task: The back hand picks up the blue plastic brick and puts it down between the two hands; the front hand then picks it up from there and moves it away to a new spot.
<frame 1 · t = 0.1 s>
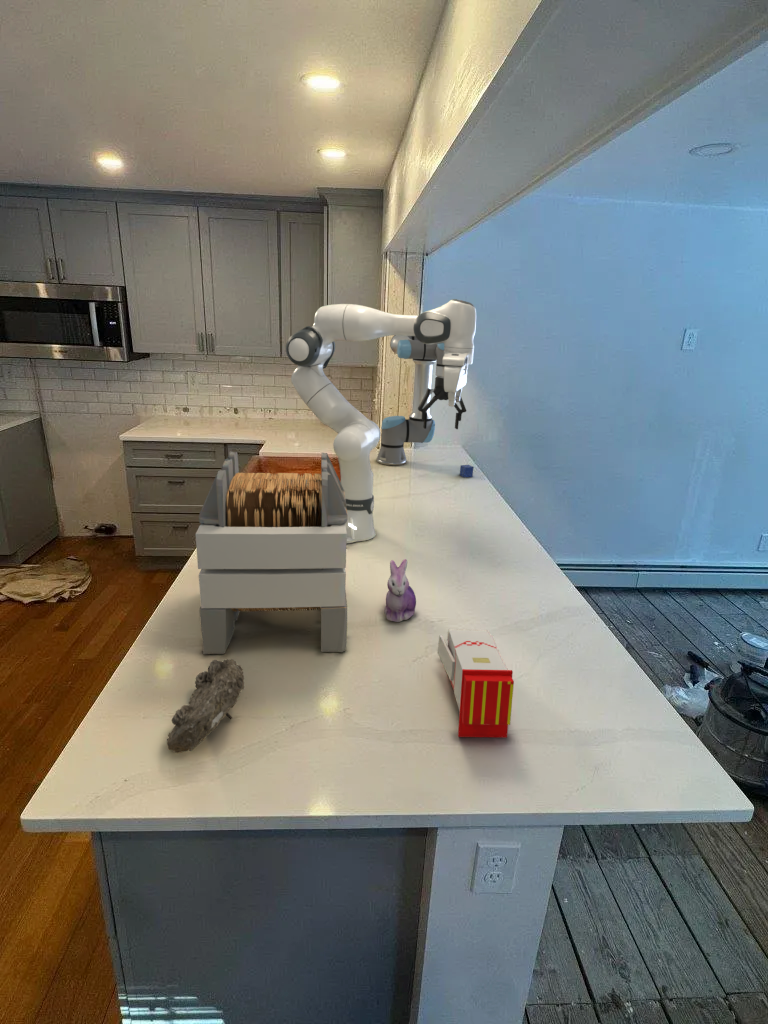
front hand: (454, 403, 174), 48 cm above the counter, tool pointing down, fingers open, 8 cm apart
back hand: (440, 428, 239), 28 cm above the counter, tool pointing down, fingers open, 13 cm apart
toy: (469, 691, 119), on the counter
figurine: (399, 614, 147), on the counter
brick: (466, 475, 274), on the counter
fossil: (212, 717, 108), on the counter
transformer: (279, 616, 144), on the counter
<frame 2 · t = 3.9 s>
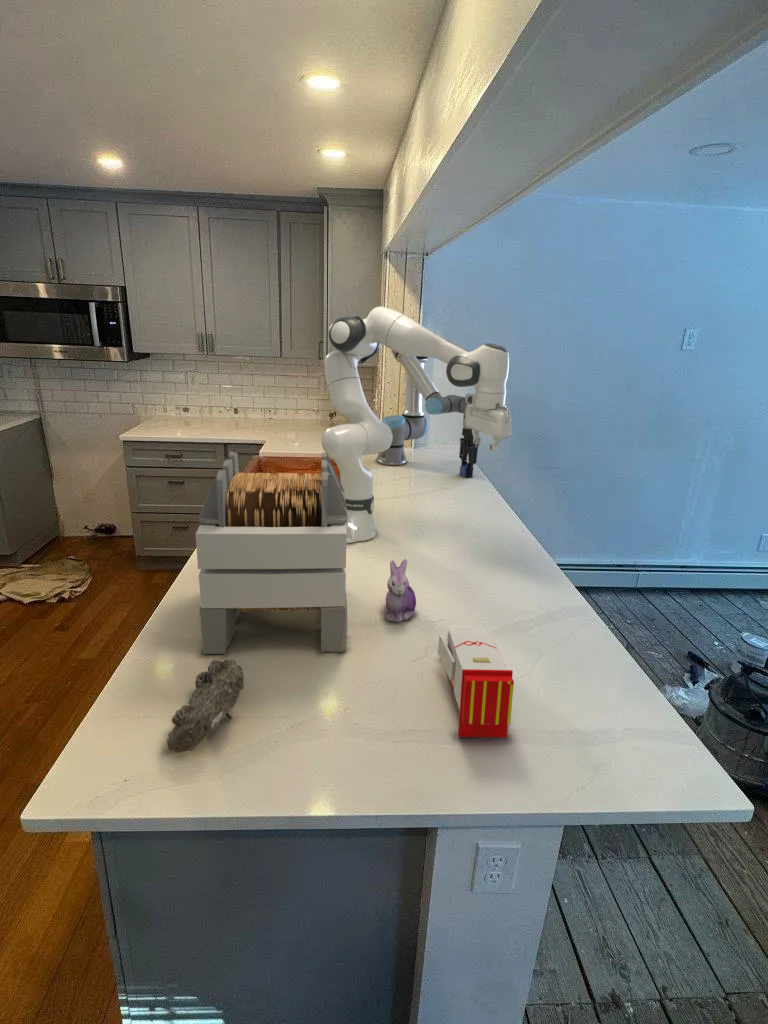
front hand: (484, 447, 172), 36 cm above the counter, tool pointing down, fingers open, 8 cm apart
back hand: (466, 475, 274), 0 cm above the counter, tool pointing down, fingers closed on brick, 4 cm apart
brick: (465, 475, 274), on the counter, touching back hand
everything else where it was.
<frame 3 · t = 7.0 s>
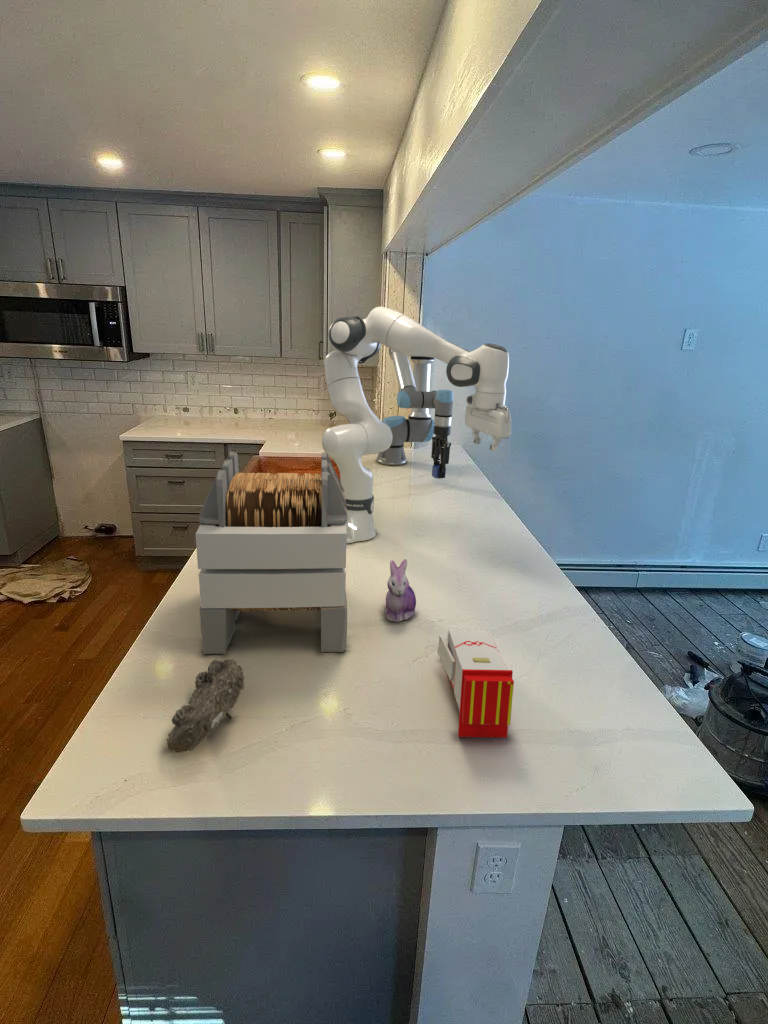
front hand: (484, 447, 172), 36 cm above the counter, tool pointing down, fingers open, 8 cm apart
back hand: (438, 476, 258), 4 cm above the counter, tool pointing down, fingers closed on brick, 4 cm apart
brick: (438, 476, 259), point 3 cm above the counter, touching back hand
everything else where it was.
when the back hand's fingers open (1 cm above the counter, at t = 10.1 s): brick drops 1 cm, on the counter.
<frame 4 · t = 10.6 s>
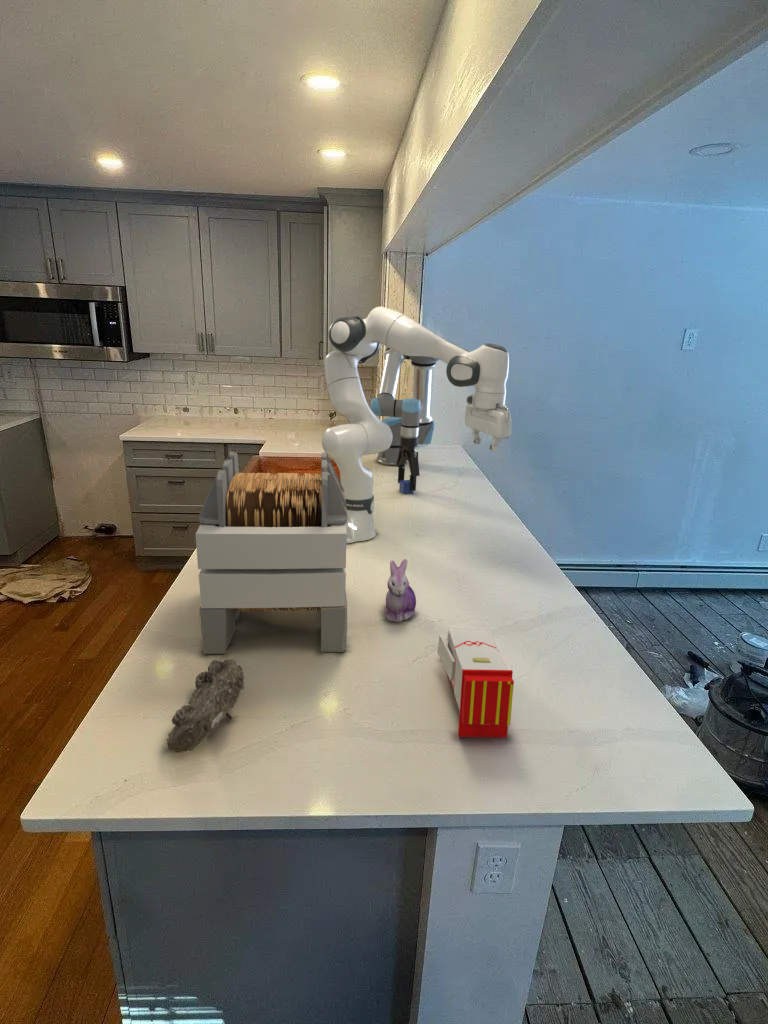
front hand: (484, 447, 172), 36 cm above the counter, tool pointing down, fingers open, 8 cm apart
back hand: (406, 486, 245), 3 cm above the counter, tool pointing down, fingers open, 11 cm apart
brick: (406, 492, 245), on the counter
everything else where it was.
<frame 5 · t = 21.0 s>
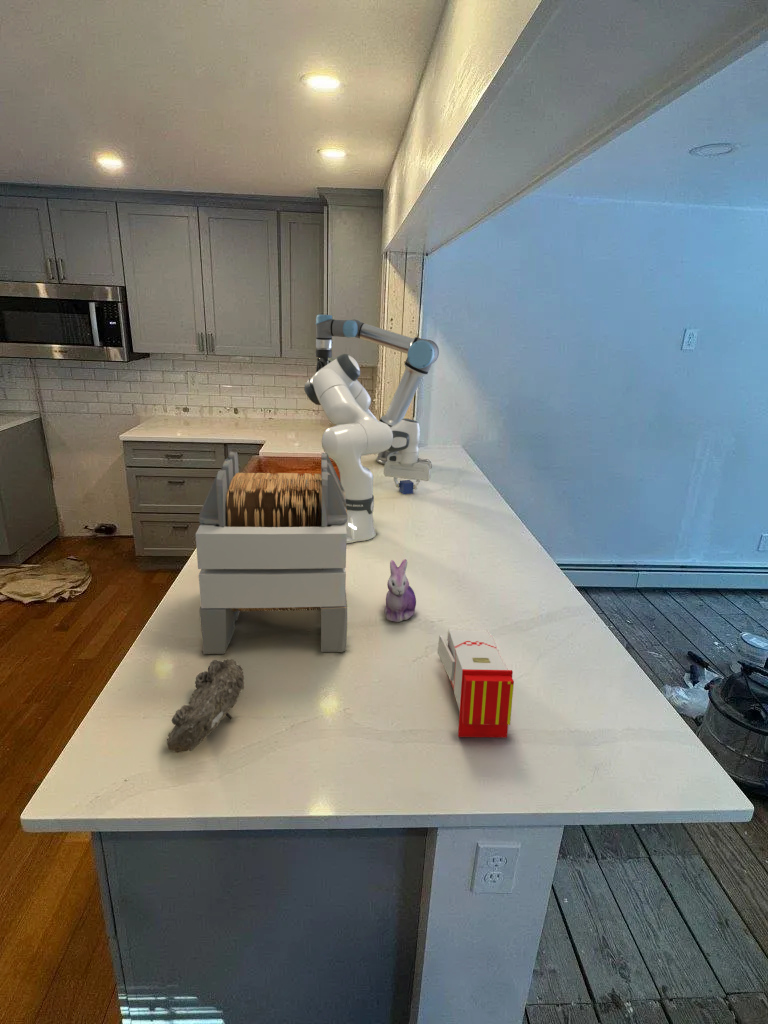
front hand: (406, 488, 245), 2 cm above the counter, tool pointing down, fingers closed on brick, 6 cm apart
back hand: (323, 394, 277), 34 cm above the counter, tool pointing down, fingers open, 13 cm apart
brick: (406, 492, 245), on the counter, touching front hand
everything else where it was.
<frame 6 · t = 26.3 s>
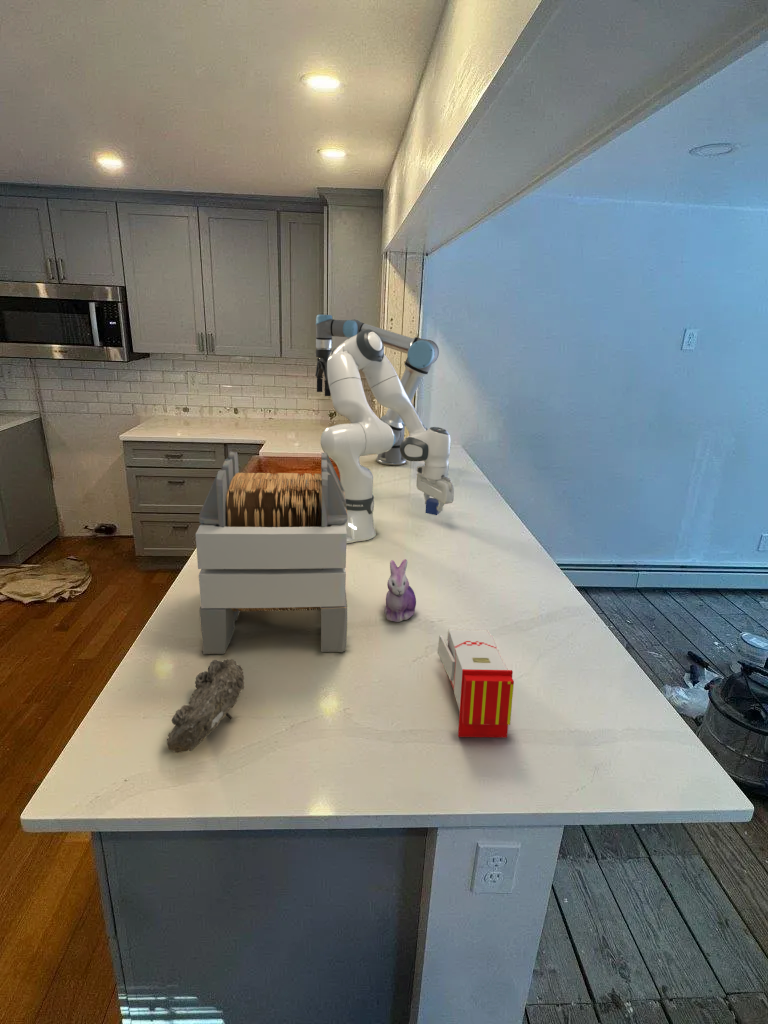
front hand: (433, 507, 212), 5 cm above the counter, tool pointing down, fingers closed on brick, 6 cm apart
back hand: (323, 394, 277), 34 cm above the counter, tool pointing down, fingers open, 13 cm apart
brick: (433, 512, 213), point 3 cm above the counter, touching front hand
everything else where it was.
when the front hand's fingers open (3 cm above the counter, at t = 32.1 s): brick drops 1 cm, on the counter.
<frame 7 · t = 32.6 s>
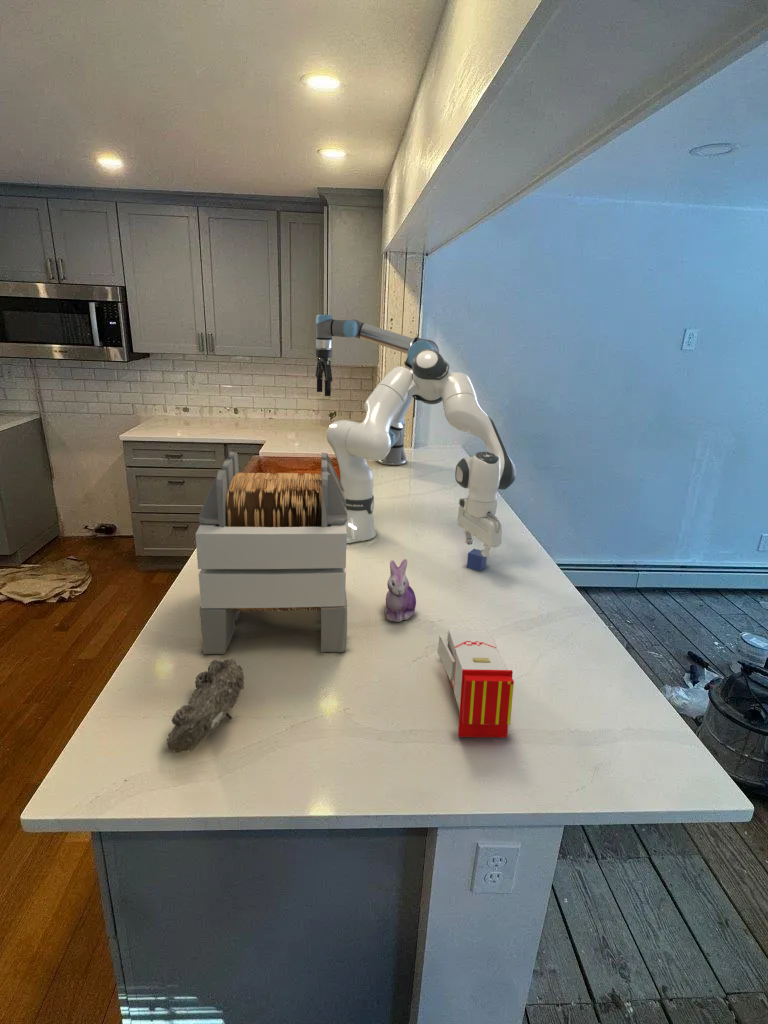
front hand: (476, 549, 174), 6 cm above the counter, tool pointing down, fingers open, 8 cm apart
back hand: (323, 394, 277), 34 cm above the counter, tool pointing down, fingers open, 13 cm apart
brick: (476, 566, 177), on the counter
everything else where it was.
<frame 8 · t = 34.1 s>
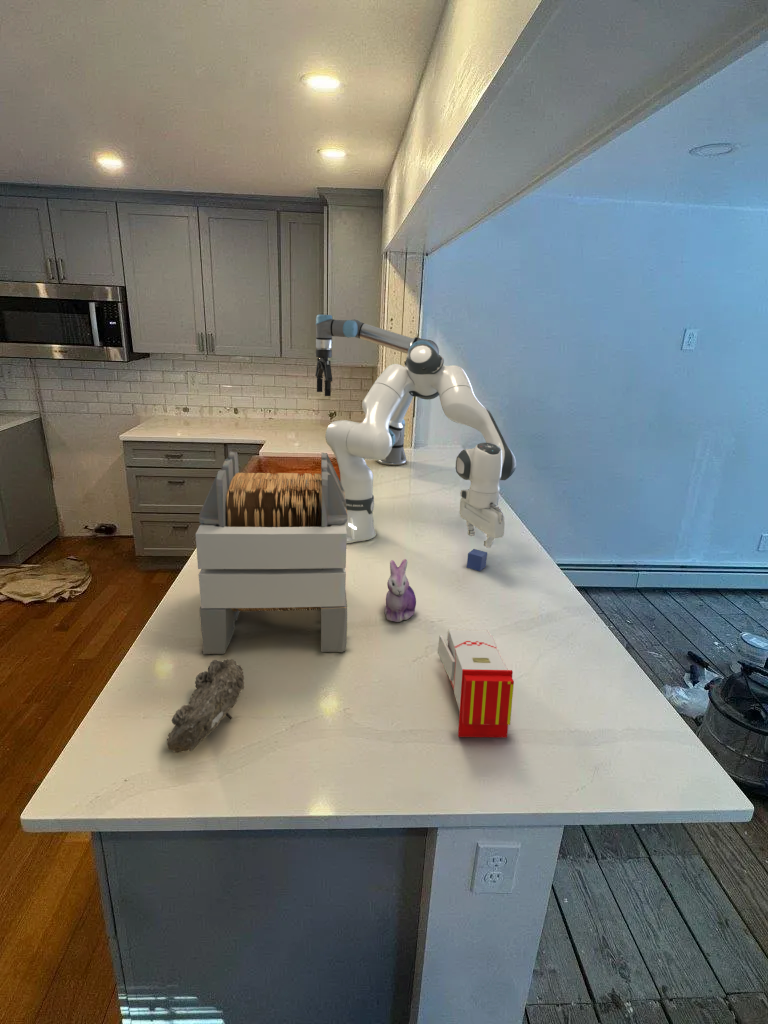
front hand: (479, 541, 174), 9 cm above the counter, tool pointing down, fingers open, 8 cm apart
back hand: (323, 394, 277), 34 cm above the counter, tool pointing down, fingers open, 13 cm apart
nothing on the counter moved.
at the end: brick inside the target area (0.1 cm from its centre), on the counter; brick tilted 0°; the two hands never held the brick at the same time; the front hand is holding nothing; the back hand is holding nothing; brick at rest at the end (0.0 cm/s) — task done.
